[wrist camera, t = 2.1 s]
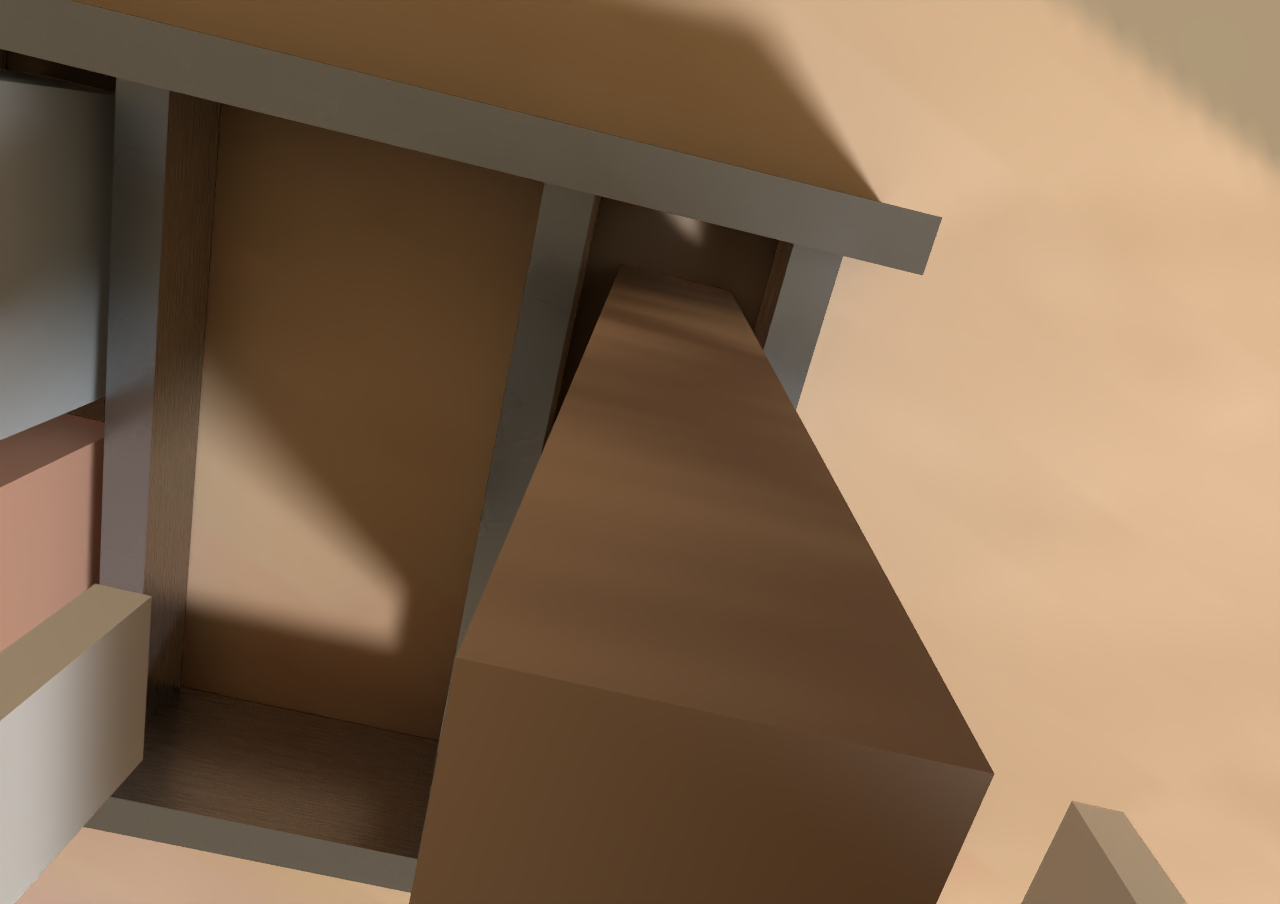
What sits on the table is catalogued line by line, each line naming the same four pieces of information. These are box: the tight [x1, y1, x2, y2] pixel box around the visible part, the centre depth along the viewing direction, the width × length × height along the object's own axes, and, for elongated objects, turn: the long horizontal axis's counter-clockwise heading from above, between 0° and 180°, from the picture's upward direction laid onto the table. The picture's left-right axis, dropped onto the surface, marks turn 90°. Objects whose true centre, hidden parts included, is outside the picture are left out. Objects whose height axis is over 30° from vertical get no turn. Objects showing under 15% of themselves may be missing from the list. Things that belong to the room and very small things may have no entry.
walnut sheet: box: [409, 264, 994, 904], centre depth 13 cm, size 2×12×16 cm, turn 167°
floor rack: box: [0, 0, 942, 893], centre depth 19 cm, size 20×17×4 cm
